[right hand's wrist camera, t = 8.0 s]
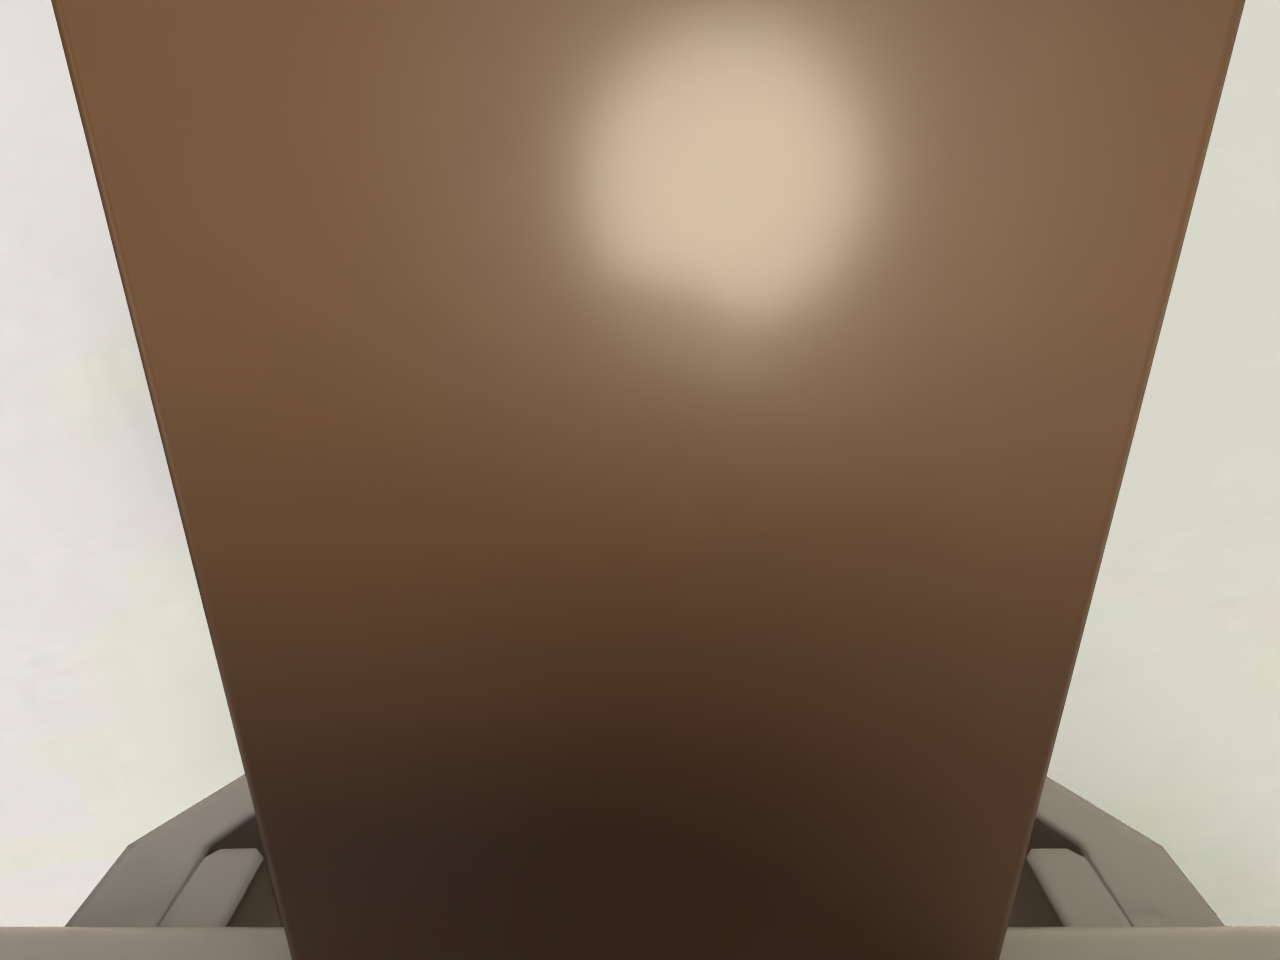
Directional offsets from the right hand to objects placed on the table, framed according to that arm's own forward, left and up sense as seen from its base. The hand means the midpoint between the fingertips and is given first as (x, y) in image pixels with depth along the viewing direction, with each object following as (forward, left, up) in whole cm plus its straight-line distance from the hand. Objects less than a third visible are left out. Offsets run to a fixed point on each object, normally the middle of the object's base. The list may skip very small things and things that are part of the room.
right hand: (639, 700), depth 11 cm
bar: (+9, 0, -4) cm, 9 cm away
